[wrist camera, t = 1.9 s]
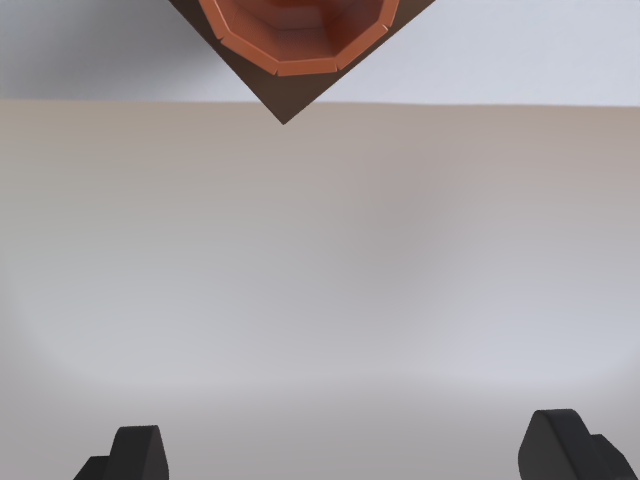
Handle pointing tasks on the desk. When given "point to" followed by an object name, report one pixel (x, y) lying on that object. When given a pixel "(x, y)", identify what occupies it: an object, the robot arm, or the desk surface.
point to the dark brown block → (294, 90)
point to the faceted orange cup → (299, 31)
